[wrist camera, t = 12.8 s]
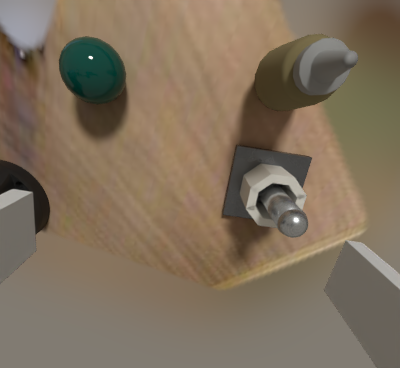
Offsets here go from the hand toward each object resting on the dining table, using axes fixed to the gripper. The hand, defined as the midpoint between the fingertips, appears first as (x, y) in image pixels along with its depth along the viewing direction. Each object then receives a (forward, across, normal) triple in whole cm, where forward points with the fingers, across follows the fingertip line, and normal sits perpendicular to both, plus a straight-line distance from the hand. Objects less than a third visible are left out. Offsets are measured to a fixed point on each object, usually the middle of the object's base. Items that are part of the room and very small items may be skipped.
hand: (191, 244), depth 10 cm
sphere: (+29, -14, +7) cm, 34 cm away
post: (+28, +13, -5) cm, 32 cm away
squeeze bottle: (+29, +10, +11) cm, 32 cm away
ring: (+27, +13, -5) cm, 31 cm away
